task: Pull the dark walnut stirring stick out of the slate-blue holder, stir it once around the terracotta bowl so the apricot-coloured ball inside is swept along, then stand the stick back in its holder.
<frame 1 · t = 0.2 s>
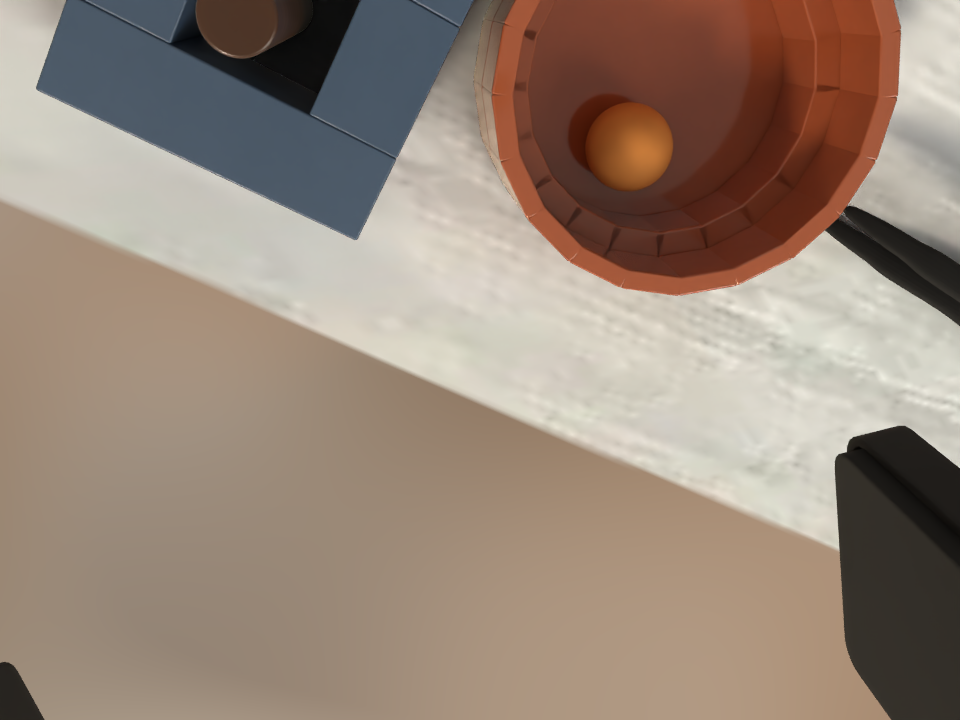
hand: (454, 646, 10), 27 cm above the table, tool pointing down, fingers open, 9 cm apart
holder: (287, 8, 31), on the table
bowl: (646, 79, 34), on the table
ball: (628, 147, 33), point 2 cm above the table, touching bowl
stick: (268, 11, 26), in the holder
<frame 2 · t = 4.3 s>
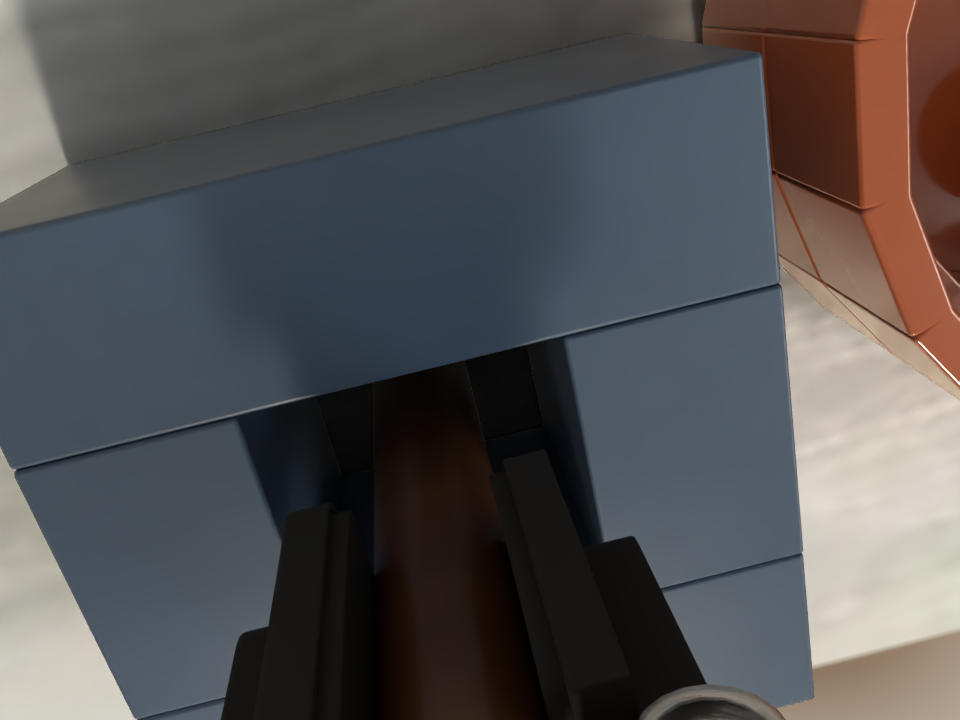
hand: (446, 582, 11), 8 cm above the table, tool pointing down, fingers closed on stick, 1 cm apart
holder: (418, 356, 18), on the table
stick: (440, 535, 12), in the holder, touching gripper
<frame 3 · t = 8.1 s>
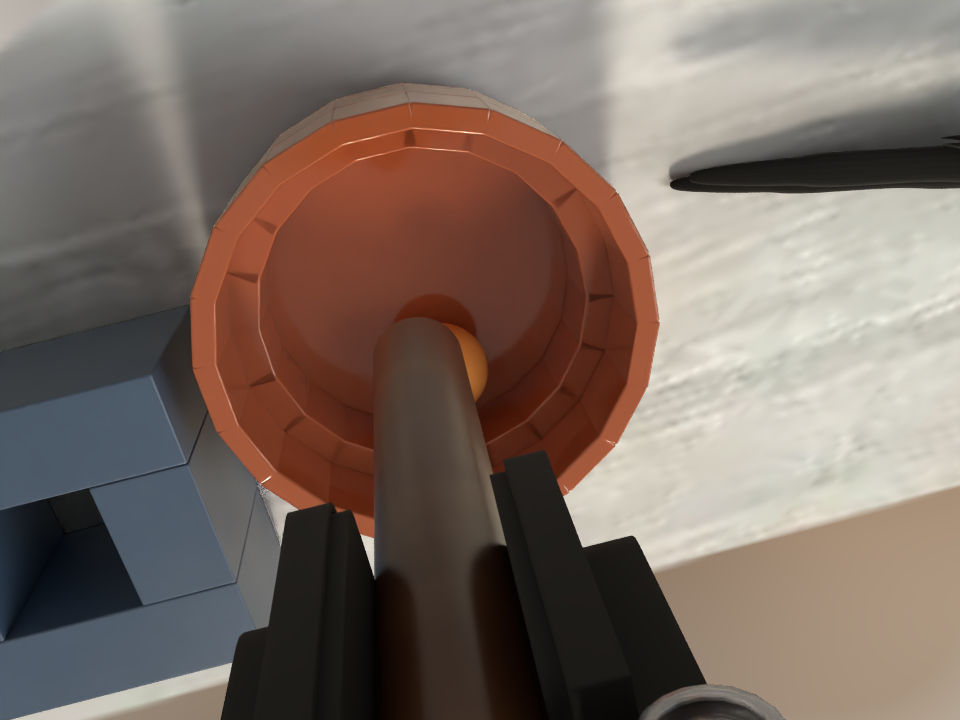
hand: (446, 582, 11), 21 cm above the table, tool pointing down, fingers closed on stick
holder: (99, 469, 32), on the table
bowl: (419, 282, 31), on the table
ball: (440, 370, 30), point 2 cm above the table, touching bowl
stick: (441, 538, 12), point 20 cm above the table, touching gripper
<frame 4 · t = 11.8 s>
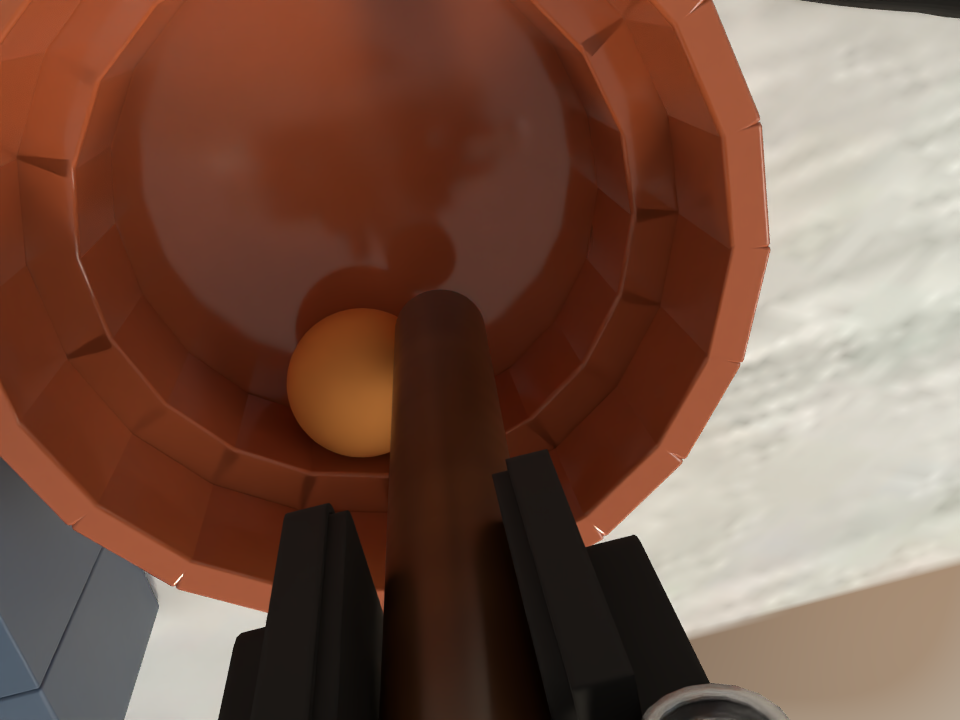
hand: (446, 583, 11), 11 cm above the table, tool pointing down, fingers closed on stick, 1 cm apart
bowl: (362, 197, 20), on the table
ball: (362, 382, 19), point 2 cm above the table, tilted 31°, touching bowl, stick
stick: (454, 524, 12), point 10 cm above the table, touching ball, gripper
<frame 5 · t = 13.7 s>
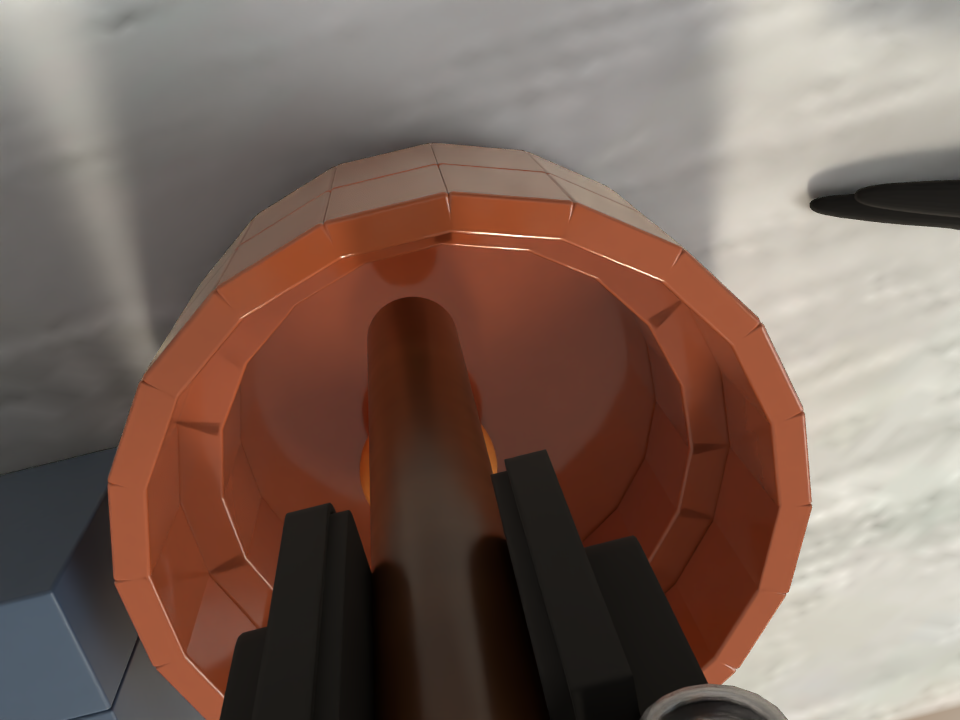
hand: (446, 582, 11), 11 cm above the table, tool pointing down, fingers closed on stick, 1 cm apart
holder: (15, 652, 24), on the table
bowl: (450, 409, 22), on the table
ball: (428, 468, 21), point 2 cm above the table, tilted 75°, touching bowl
stick: (438, 529, 12), point 10 cm above the table, touching gripper
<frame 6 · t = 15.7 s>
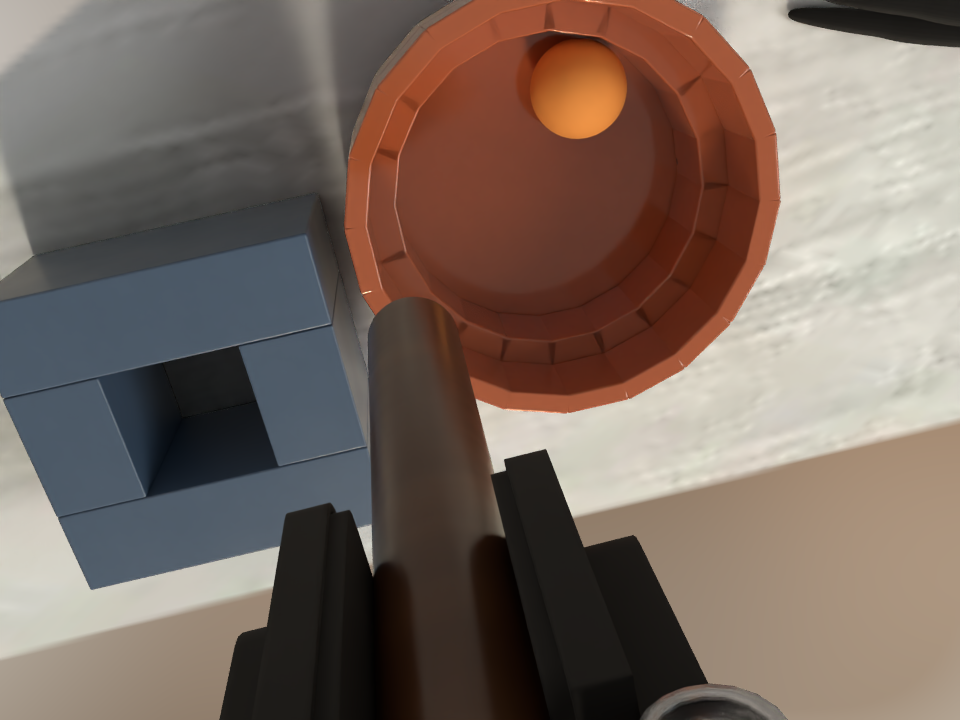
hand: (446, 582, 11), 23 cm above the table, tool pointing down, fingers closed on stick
holder: (221, 354, 34), on the table
bowl: (534, 177, 32), on the table
ball: (578, 89, 29), point 2 cm above the table, tilted 136°, touching bowl
stick: (439, 529, 12), point 22 cm above the table, touching gripper
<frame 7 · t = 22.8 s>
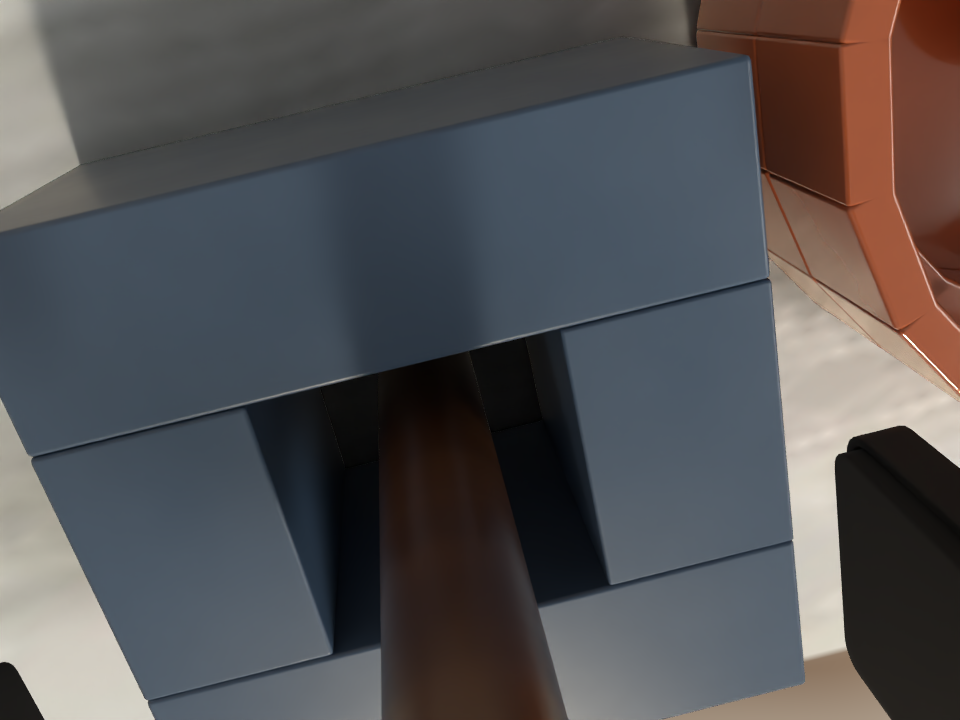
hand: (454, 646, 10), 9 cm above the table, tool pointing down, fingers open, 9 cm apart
holder: (420, 352, 18), on the table
stick: (444, 507, 12), in the holder
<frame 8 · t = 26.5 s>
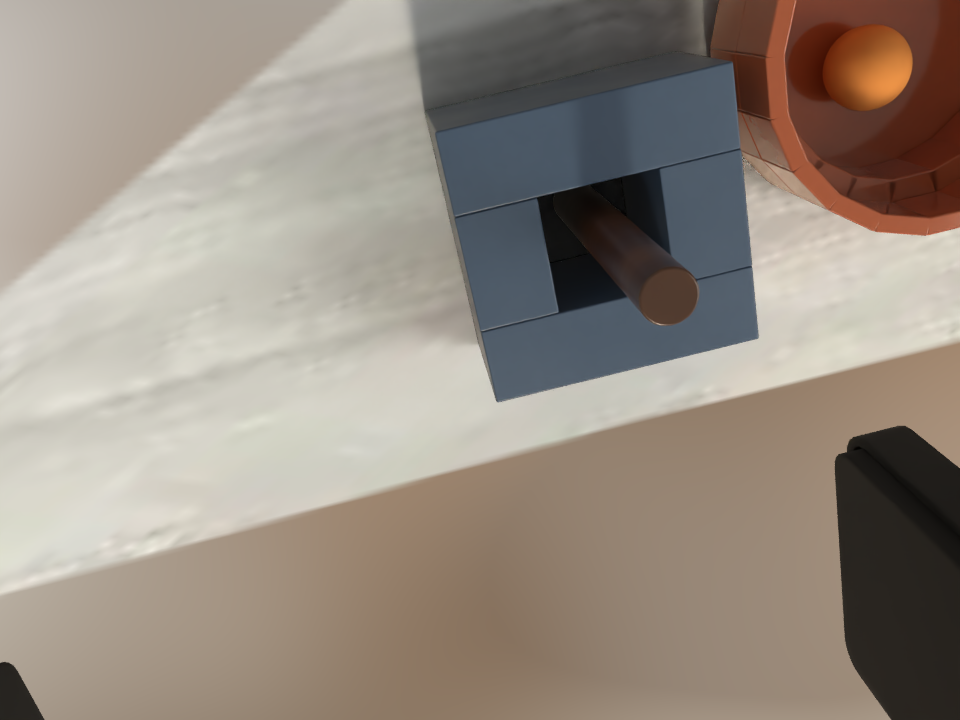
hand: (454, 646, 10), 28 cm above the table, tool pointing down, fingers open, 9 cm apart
holder: (573, 206, 37), on the table
bowl: (865, 37, 36), on the table
ball: (866, 68, 34), point 2 cm above the table, tilted 52°, touching bowl
stick: (612, 239, 31), in the holder
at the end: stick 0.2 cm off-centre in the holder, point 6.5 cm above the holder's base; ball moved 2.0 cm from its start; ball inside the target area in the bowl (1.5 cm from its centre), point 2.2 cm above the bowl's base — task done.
